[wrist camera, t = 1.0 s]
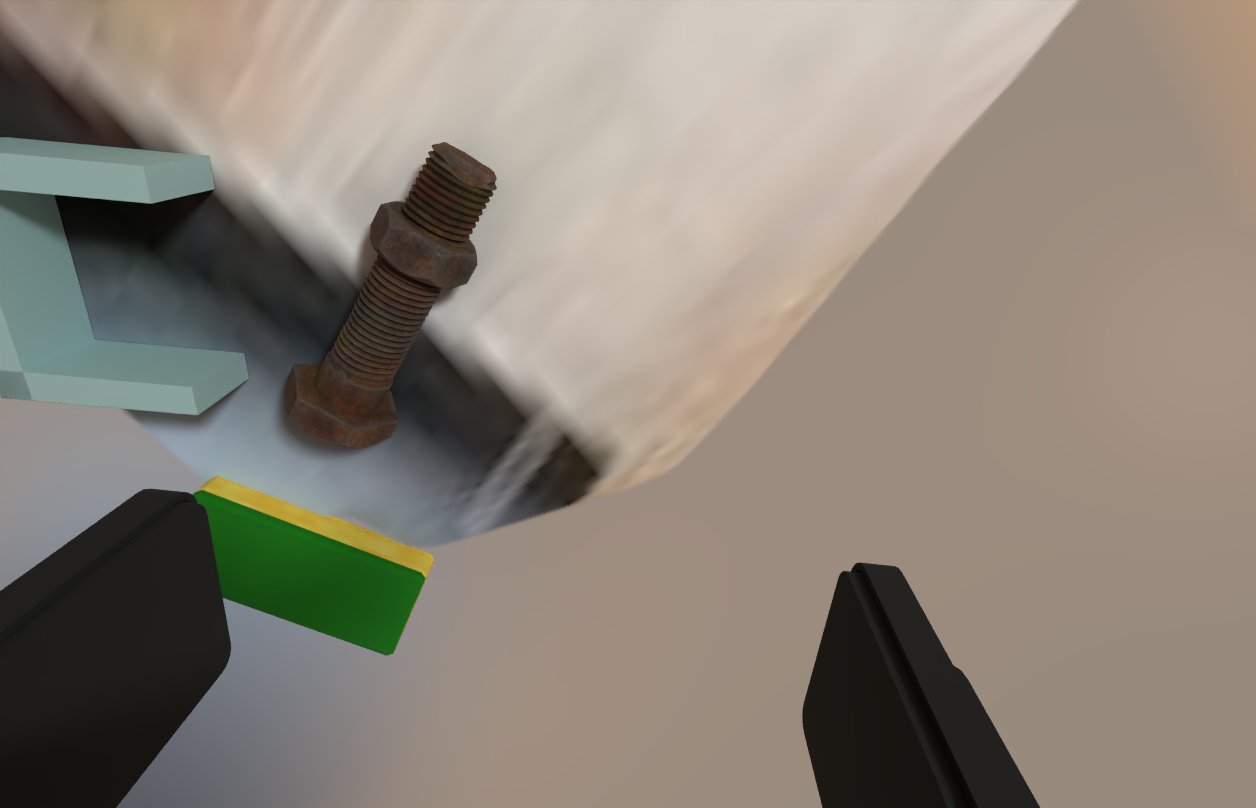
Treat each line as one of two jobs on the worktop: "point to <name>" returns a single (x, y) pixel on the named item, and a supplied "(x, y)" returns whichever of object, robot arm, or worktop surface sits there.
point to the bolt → (393, 302)
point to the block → (50, 292)
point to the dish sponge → (312, 566)
